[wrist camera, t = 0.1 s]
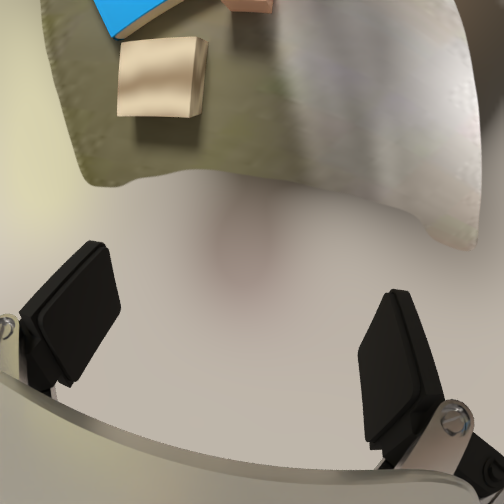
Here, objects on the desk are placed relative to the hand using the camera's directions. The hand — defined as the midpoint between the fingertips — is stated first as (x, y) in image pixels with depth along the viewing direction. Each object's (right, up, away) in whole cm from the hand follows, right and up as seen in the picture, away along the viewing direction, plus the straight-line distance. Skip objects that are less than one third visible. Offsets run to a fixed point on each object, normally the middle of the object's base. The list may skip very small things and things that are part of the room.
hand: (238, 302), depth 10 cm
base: (-10, +25, +24) cm, 36 cm away
